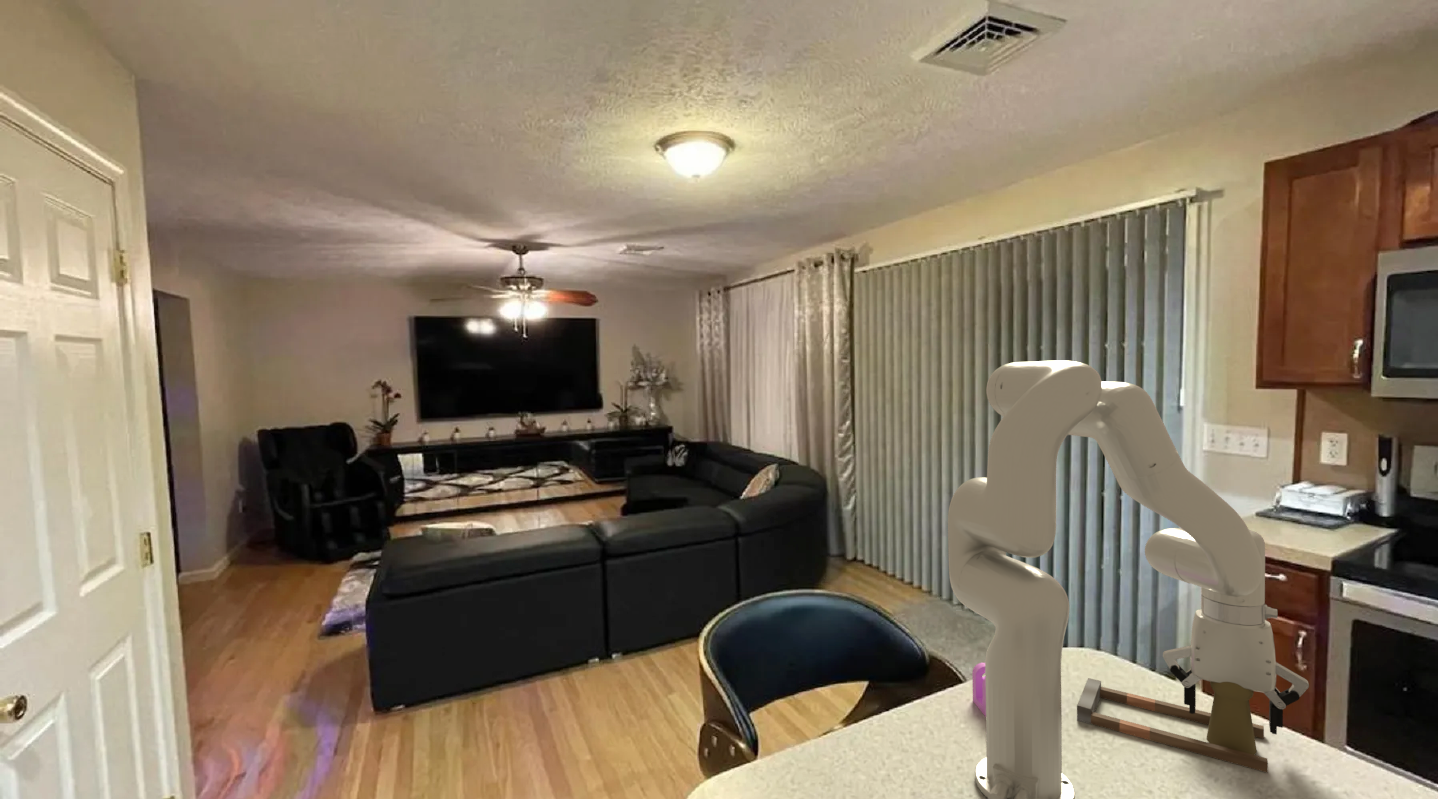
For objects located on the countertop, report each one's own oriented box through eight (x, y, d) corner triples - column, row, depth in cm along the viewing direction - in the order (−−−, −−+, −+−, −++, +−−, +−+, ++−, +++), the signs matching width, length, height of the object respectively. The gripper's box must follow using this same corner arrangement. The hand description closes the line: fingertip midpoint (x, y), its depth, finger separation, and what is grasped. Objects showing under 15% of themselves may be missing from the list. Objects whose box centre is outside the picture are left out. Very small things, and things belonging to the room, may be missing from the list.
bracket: (986, 718, 108) (985, 678, 107) (972, 701, 113) (972, 662, 113) (1063, 715, 108) (1062, 675, 108) (1045, 698, 113) (1045, 660, 113)
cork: (1266, 758, 95) (1267, 685, 94) (1219, 754, 96) (1220, 682, 95) (1241, 734, 101) (1242, 666, 100) (1198, 731, 102) (1198, 663, 101)
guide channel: (1267, 772, 91) (1267, 755, 91) (1077, 720, 106) (1077, 705, 106) (1263, 735, 100) (1263, 719, 100) (1088, 691, 115) (1088, 677, 115)
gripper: (1306, 614, 95) (1305, 726, 96) (1164, 591, 106) (1164, 693, 106) (1312, 631, 89) (1310, 751, 90) (1161, 606, 100) (1161, 713, 100)
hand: (1231, 719), depth 98 cm, fingers open, 9 cm apart
